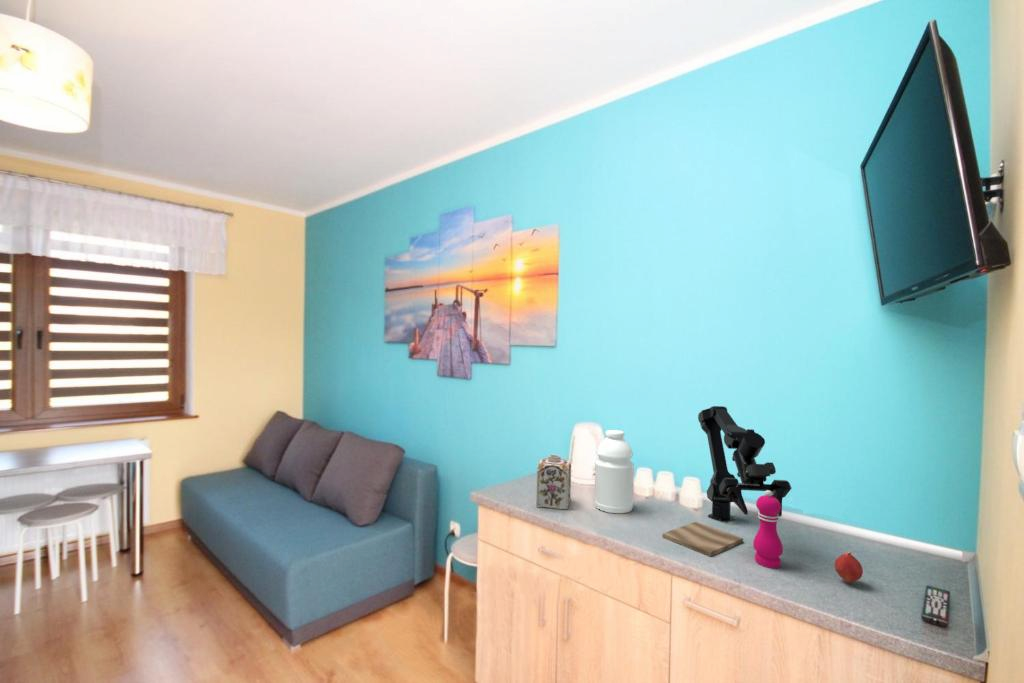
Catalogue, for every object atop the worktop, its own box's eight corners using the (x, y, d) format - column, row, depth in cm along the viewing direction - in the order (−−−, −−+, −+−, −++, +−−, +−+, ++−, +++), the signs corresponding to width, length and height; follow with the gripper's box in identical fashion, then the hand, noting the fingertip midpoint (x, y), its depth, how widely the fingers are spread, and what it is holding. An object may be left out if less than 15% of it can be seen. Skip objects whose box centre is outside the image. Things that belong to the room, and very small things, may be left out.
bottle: (638, 505, 172) (639, 430, 173) (626, 517, 161) (627, 436, 161) (602, 498, 180) (603, 426, 180) (588, 508, 168) (589, 431, 169)
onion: (828, 577, 120) (829, 546, 120) (849, 576, 121) (849, 546, 121) (846, 589, 114) (847, 556, 114) (868, 588, 115) (868, 556, 115)
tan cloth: (695, 525, 154) (695, 521, 154) (743, 542, 141) (743, 538, 141) (662, 537, 144) (662, 533, 144) (710, 556, 131) (710, 552, 131)
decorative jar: (535, 507, 169) (536, 458, 169) (540, 497, 180) (541, 451, 180) (568, 510, 166) (569, 460, 166) (571, 500, 177) (572, 453, 178)
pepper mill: (779, 559, 130) (780, 488, 130) (785, 571, 123) (786, 495, 123) (751, 555, 132) (751, 485, 133) (755, 566, 125) (756, 492, 126)
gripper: (723, 450, 137) (738, 499, 126) (788, 452, 136) (809, 502, 124) (713, 470, 145) (726, 518, 133) (774, 472, 143) (793, 521, 132)
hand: (763, 515), depth 131 cm, fingers open, 9 cm apart
